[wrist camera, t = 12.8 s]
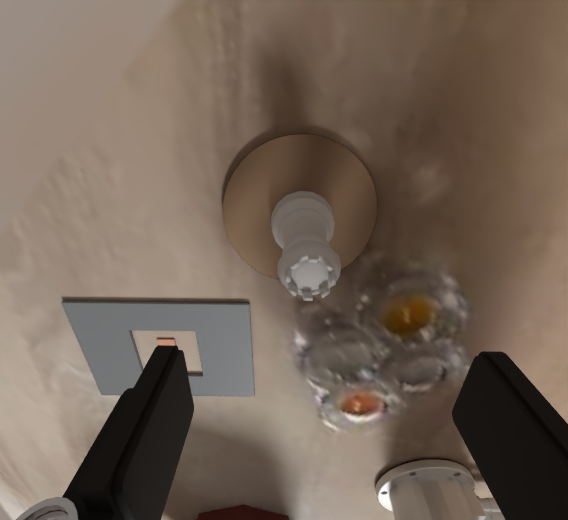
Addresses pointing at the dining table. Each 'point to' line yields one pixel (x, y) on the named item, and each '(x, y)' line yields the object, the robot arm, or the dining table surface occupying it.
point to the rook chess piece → (305, 244)
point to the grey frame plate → (166, 342)
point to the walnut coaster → (292, 178)
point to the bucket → (241, 514)
